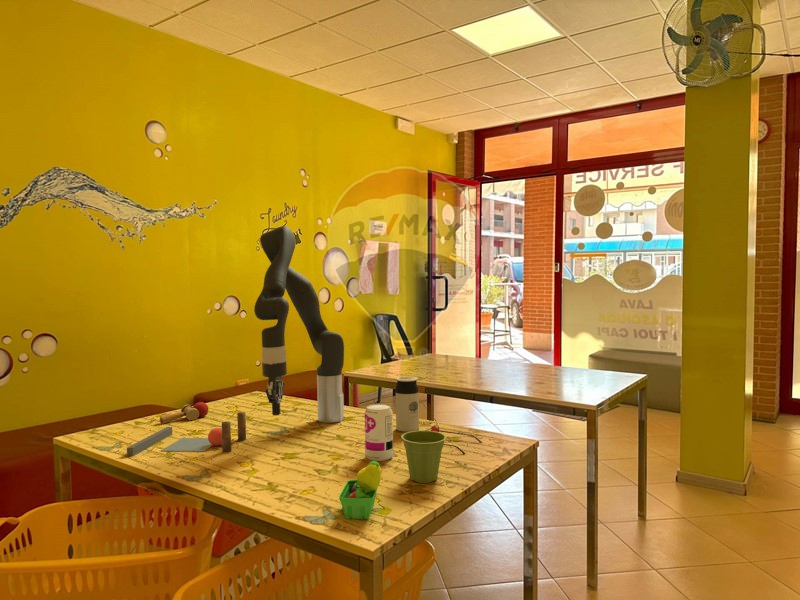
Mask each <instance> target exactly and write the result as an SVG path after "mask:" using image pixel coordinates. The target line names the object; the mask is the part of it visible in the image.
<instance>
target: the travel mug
mask: <svg viewBox="0 0 800 600" xmlns="http://www.w3.org/2000/svg"><path fill="white" fill-rule="evenodd" d="M395 380H396V386H395V429H396V430H397V431H398V432H401V433H402V432H403V433H407V432H411V431H419V429H420V422H419V421H420V418H419V417H420V412H419V411H420V409H419V408H420V407H419V403H420V401H419V386H418V384H417V382H418V377H416V376H410V375H409V376H398V377H396V379H395Z"/></svg>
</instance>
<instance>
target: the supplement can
mask: <svg viewBox="0 0 800 600" xmlns="http://www.w3.org/2000/svg"><path fill="white" fill-rule="evenodd" d="M391 408H392V407H391V406H390V405H389V404H382V403H380V404H379V403H375V404H370V405H367V406H366V408H365V410H364V440H365V442H364V448H365V457H366V458H367V459H368V460H370V461H371V462H372V461H376V462H385V461H388V460H390V459H391V458H393V456H394V420H393V419H394V417H393V415H394V413H393V410H392V409H391Z"/></svg>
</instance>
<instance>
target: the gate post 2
mask: <svg viewBox="0 0 800 600" xmlns="http://www.w3.org/2000/svg"><path fill="white" fill-rule="evenodd" d="M236 417H237V441H238V440H239V442H240V441H241V442H243V440H244V441H246V440H247V428H246V427H247V425H246V420H247V419H246V412H245V411H238V412H237V414H236Z"/></svg>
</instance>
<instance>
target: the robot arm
mask: <svg viewBox="0 0 800 600" xmlns="http://www.w3.org/2000/svg"><path fill="white" fill-rule="evenodd" d="M259 242H260V246H261V248H262V250H263V252H264V254H265V255H266V257H267V259H268V261H269V263H270V265H269V266H268V268H267V269H266V272H265V274H264V278H263V286H262V290H261V292H260V294H259V296H258V297H257V299H256V301H255V304H254V309H253V310H254V311H253V312H254V315H255V317H256V318H257V320H260V321H275V320H277V322H276V324H274V325H273V326H269V327H266V328H263V329H262V331H261V365H262V366H261V367H262V369H261V370H262V376H263V377H264V378H268V381H267V389H265V394H266V397H267V400H268V403H269V404H271V410H272V413H271V414H272V416H280V415H281V402H282V400H283V396H284V391H285V390H284V389H285V382H284V381H283V379H282V378H283V377H285V376H286V375H287V374H288V370H287V369H288V368H287V365H288V364H287V351H286V339H285V333H286V331H285V330H286V323H287V320H288V315H289V311H290V304H289V301H288V300H287V299H286V298H285V297H284V295H285V294H286V293H285V292H287V295H288V298H290V302H291V303H292V304H293V306H294V308H295V309H296V312H297V314H298V315H299V318H300V321H302V324H303V325H304V327H305V329H306V331H307V334H308V337H309V340H310V343H311V345H312V347H313V349H314V350H315V352H316V353H317V354H318V355H321V363H320V365H319V366H317V367H316V384H317V385H316V387H317V388H316V390H317V391H316V392H317V421H318V422H320V423H338V422H342V421H343V420H344V418H345V415H344V413H345V411H344V410H345V408H344V406H345V405H344V392H343V375H342V374H343V373H342V372H343V368H344V364H345V363H344V362H345V343H344V342H345V341H344V339H343V336H341V334H339V333H337V332H334V331H330V330H329V329H328V328H327V326H326V324H325V322H324V319H323V317H322V315H321V308H320V301H319V297H318V294H317V292H316V290H315V287H314V285H313V284H312V282H311V281H310V280H309V279H308V278H307V277H306V276H304V275H303V274H301V273H300V272H298V271H296V270H295V269H293V267H291V266H290V264H291V261H292V259H293V256H294V252H295V249H296V238H295V234H294V232H293V231H292V230H291V228H290V227H289V226H285V225H284V226H279V227H276V228H273V229H272V230H270V231H269V230H268V231H267V232H264V233H262V234H261V235H260V238H259Z"/></svg>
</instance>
